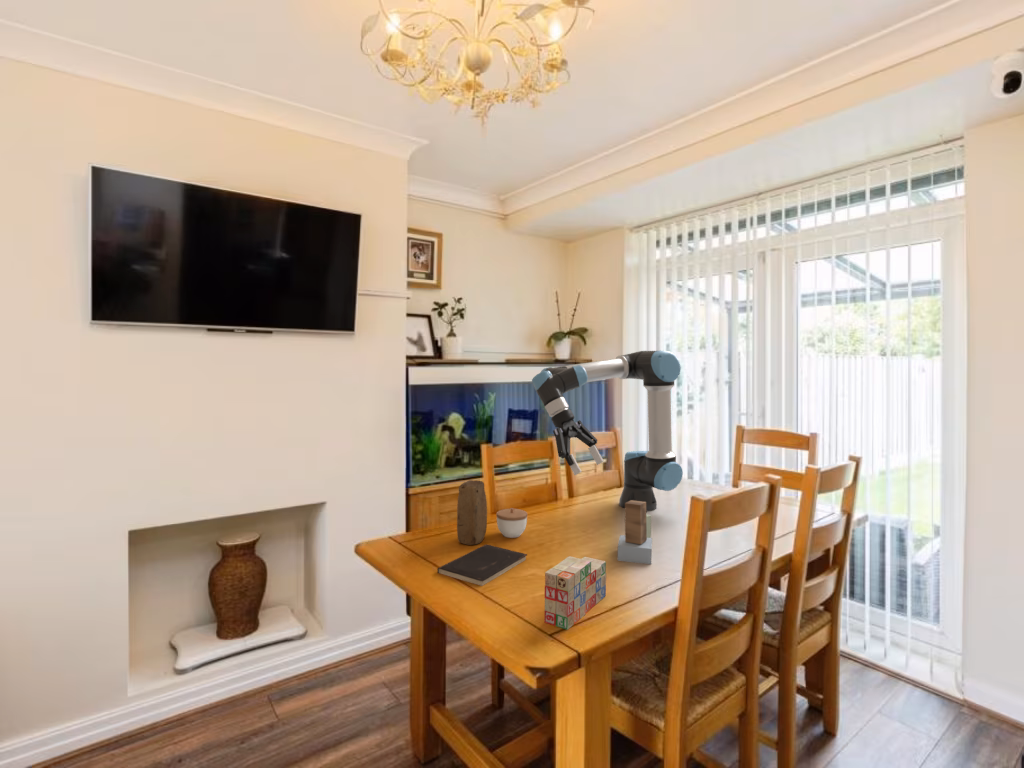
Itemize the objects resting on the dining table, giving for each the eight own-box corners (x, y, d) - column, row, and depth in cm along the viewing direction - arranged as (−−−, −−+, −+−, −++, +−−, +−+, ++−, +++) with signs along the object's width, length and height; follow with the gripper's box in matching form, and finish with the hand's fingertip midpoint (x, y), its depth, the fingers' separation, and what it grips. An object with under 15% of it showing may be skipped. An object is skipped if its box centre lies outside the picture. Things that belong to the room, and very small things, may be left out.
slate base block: (619, 550, 173) (620, 535, 172) (651, 553, 170) (651, 538, 170) (617, 561, 163) (617, 545, 163) (651, 565, 160) (651, 548, 160)
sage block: (640, 537, 184) (640, 511, 184) (650, 542, 180) (651, 515, 179) (629, 539, 182) (629, 513, 181) (639, 544, 177) (640, 517, 177)
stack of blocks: (584, 590, 142) (585, 544, 142) (606, 596, 139) (607, 549, 138) (543, 623, 125) (544, 571, 124) (567, 631, 121) (568, 577, 121)
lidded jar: (533, 536, 184) (533, 509, 183) (506, 542, 178) (506, 514, 178) (516, 528, 193) (516, 502, 192) (490, 533, 187) (490, 506, 187)
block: (474, 547, 173) (475, 486, 172) (454, 544, 176) (454, 484, 175) (489, 537, 183) (490, 479, 182) (470, 534, 186) (470, 477, 185)
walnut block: (631, 537, 170) (631, 500, 170) (646, 540, 167) (646, 501, 167) (625, 541, 166) (624, 503, 166) (640, 544, 163) (640, 505, 163)
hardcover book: (527, 561, 163) (527, 554, 163) (482, 588, 144) (482, 580, 144) (484, 550, 172) (484, 543, 172) (437, 574, 152) (437, 567, 152)
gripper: (573, 411, 196) (601, 463, 191) (530, 424, 177) (560, 482, 172) (587, 402, 191) (616, 455, 186) (544, 414, 173) (576, 473, 168)
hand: (589, 468), depth 179 cm, fingers open, 13 cm apart
